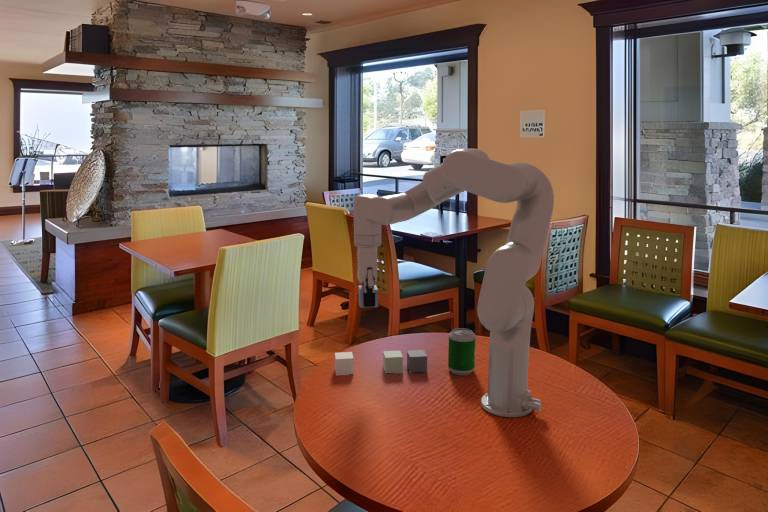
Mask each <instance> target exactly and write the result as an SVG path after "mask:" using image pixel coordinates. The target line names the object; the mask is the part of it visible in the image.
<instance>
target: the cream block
mask: <svg viewBox="0 0 768 512" xmlns="http://www.w3.org/2000/svg"><path fill="white" fill-rule="evenodd" d="M354 364H355V363H354V354H353V351H342V352H341V351H339V352H334V370H335V371H334V372H335V376H350V375H349V374H354V373H355V372H354V368H355V367H354Z"/></svg>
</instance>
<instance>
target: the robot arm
mask: <svg viewBox="0 0 768 512" xmlns="http://www.w3.org/2000/svg"><path fill="white" fill-rule="evenodd" d="M463 192H467V193H471V194H473V195H476V196H477V197H478V196H479V197H482V198H485V199H487V200H488V201H489V200H490V201H492V202H495V203H500V204H509V203H513V202H516V209H515V210H514V211H515V212H514V213H513V216H512V218H511V223H510V229H509V232H508V235H507V239H506V242H505V244H504V245H503V246H500V247H499V248H497V249H496V250H495V251H494V252H492V254H491V255H490V257H489V258H488V260H487V263H486V265H485V266H486V267H485V269H484V270H485V271H484V275H483V277H482V278H483V279H482V283H481V288H480V290H479V291H480V292H479V297H478V302H477V308H476V309H477V310H476V311H477V317H478V319H479V322H480V324H481V325H482V326H483V327H484V328H485V329H486V330H488V331H489V345H488V346H489V349H488V374H487V375H488V376H487V377H488V378H487V393H485V394H484V395H482V397H481V398H480V405H481V407H482V409H484V410H485V411H486V412H488V413H490V414H492V415H495V416H498V417H503V418H520V417H525V416H527V415H529V414H530V413H531V412H532V411H536V412H541V411H542V409H543V404H542V400H541V399H539V398H535V397H532V395H531V394H532V393H531V391H532V390H530V389H528V378H529V377H528V375H529V359H530V343H531V331H532V324H533V318H534V312H535V299H534V296H533V293H532V291H531V290H530V289H529V288H528V286H527V285H526V284H527V282H528V281H529V280H530V279H532V278H533V277H534V276H536V274H537V273H538V272H539V270H540V268H541V263H542V258H543V254H544V250H545V246H546V241H547V238H548V232H549V228H550V223H551V220H552V216H553V210H554V207H555V206H554V204H555V195H554V189H553V187H552V183H551V182H550V179H549V178H548V177H547V176H546V174H545V173H544V172H543V171H542V170H541V169H539V168H538V167H536V166H535V165H533V164H530V163H527V162H513V163H503V162H500V161H497V160H493V159H491V158H490V157H489V155H488V154H487V153H486V152H485V151H483V150H482V149H478V148H459V149H455V150H453V151H451V152H449V153H448V154H447V155H446V157H445V158H444V159H443V161H442V163H440V164H438V165H437V166H435V167H432V168H431V169H430V170H428V171H426V172H425V173H424V174H423V176H422V181H421V182H420V183H419V184H417V185H414V186H413V187H412V188H409V189H408V190H406V191H403V192H402V193H398V194H391V195H390V194H389V195H384V196H380V195H377V194H367V193H366V194H364V193H363V194H358V195H356V196H355V197H354V198H353V246H354V247H357V251H356V255H357V256H356V257H357V258H356V259H357V260H356V276H357V280H358V282H359V283H361V286H362V285H364V292H363V305H364V308H375V307H374V306H375V290H374V285H375V283H376V282H377V281H378V247H381V246H382V225H383V226H389V225H393V224H397V223H402V222H406V221H409V220H411V219H414V218H415V217H418V216H421V214H424V213H426V212H428V211H429V210H431V209H433V208H435V207H437V206H439V205H441V204H442V203H443V202H445V201H447V200H449V199H451V198H453V197H455V196H457V195H459V194H461V193H463ZM366 285H367V286H366Z"/></svg>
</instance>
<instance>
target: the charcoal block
mask: <svg viewBox="0 0 768 512" xmlns="http://www.w3.org/2000/svg"><path fill="white" fill-rule="evenodd" d="M406 367H408V368H407V370H408V369H409V370H408V372H409V371H410V372H424V373H428V355H427V353H426V351H425V349H413V350H406ZM410 372H409V373H410Z"/></svg>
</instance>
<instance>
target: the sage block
mask: <svg viewBox="0 0 768 512" xmlns="http://www.w3.org/2000/svg"><path fill="white" fill-rule="evenodd" d="M403 362H404V356H403V354H402V351H401V350H383V351H382V368H383V367H384V368H383V371H384V374H385V375H387V374H386V373H395V374H403V373H404V371H403V370H404V369H403V367H404V363H403ZM402 372H403V373H402Z"/></svg>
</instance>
